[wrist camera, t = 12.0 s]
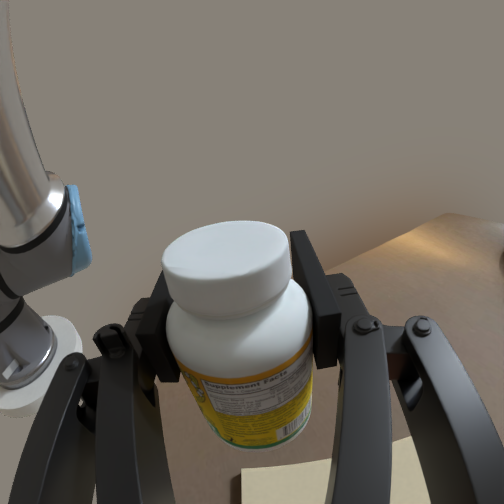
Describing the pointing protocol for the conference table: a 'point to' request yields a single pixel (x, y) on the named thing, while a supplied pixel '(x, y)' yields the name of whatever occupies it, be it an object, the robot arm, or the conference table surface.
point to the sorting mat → (317, 476)
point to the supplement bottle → (241, 332)
